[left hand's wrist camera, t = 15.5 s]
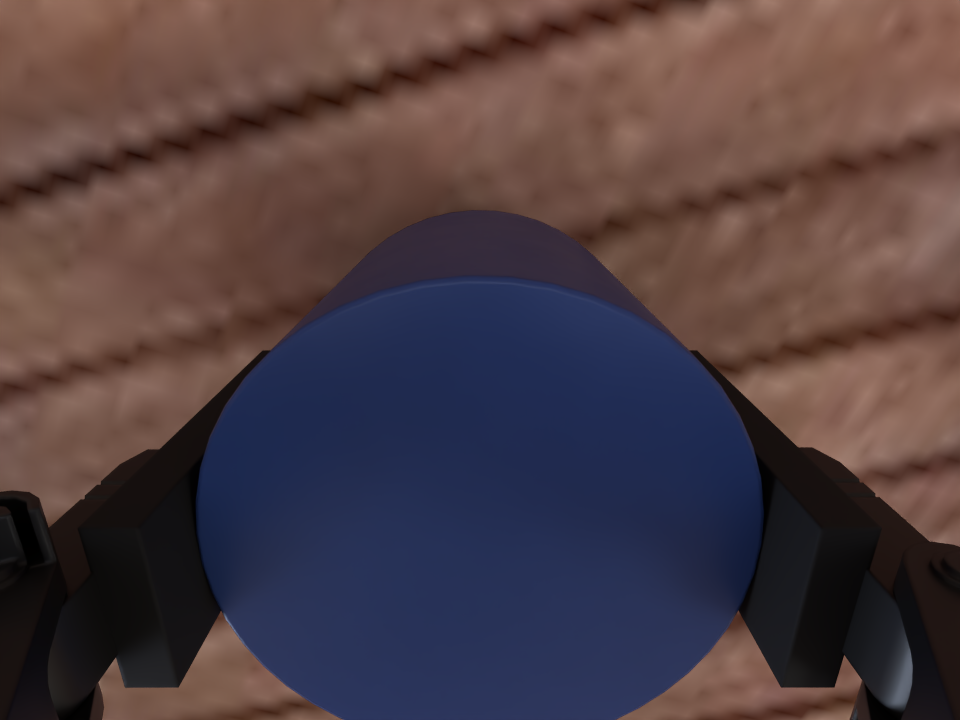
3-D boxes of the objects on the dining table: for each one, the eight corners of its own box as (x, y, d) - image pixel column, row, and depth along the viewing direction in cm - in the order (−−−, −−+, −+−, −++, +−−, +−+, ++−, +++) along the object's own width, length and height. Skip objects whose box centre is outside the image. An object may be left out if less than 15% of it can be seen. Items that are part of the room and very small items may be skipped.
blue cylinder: (278, 428, 16) (124, 646, 9) (404, 145, 14) (322, 149, 7) (538, 541, 18) (577, 806, 11) (698, 305, 15) (891, 448, 8)
